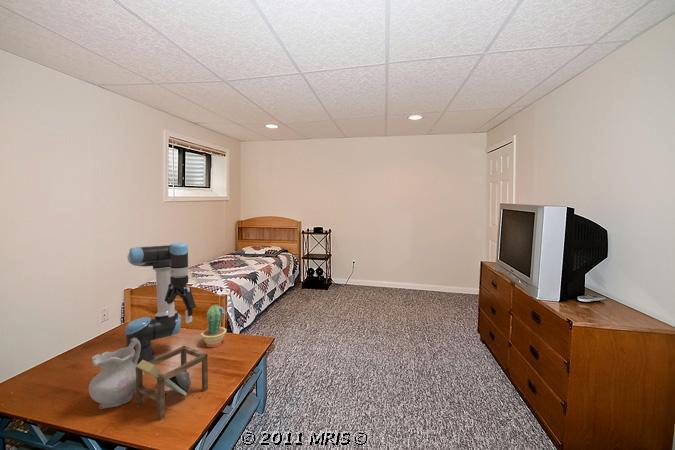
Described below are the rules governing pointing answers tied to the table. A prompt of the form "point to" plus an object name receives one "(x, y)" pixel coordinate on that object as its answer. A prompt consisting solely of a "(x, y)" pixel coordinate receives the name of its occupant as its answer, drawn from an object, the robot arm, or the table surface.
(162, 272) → the robot arm
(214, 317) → the potted cactus
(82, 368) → the table surface
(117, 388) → the ceramic pitcher
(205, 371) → the stand
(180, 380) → the rock
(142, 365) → the trapdoor
